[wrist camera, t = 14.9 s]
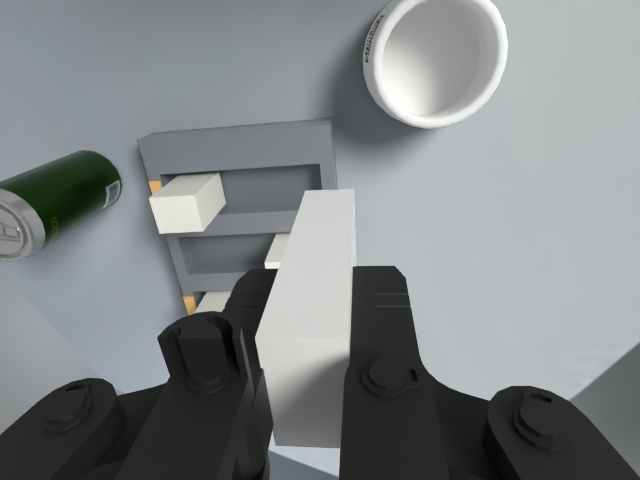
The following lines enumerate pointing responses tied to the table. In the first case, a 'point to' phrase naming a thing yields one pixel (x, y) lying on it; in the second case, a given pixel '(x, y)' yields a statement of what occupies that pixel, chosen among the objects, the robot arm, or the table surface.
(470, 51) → the mug
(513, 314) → the table surface
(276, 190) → the switch board
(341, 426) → the robot arm
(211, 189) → the white rectangular block
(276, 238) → the white cuboid
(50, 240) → the beer can
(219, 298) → the tab
